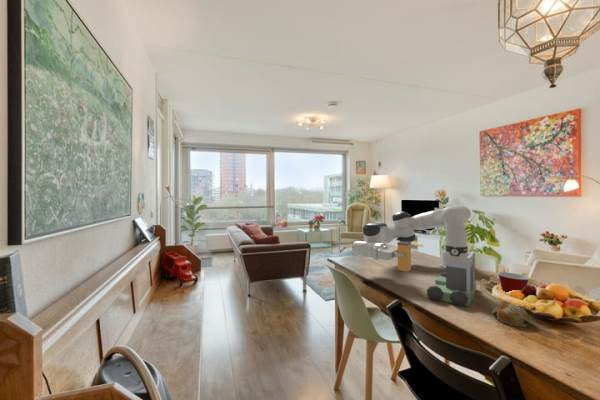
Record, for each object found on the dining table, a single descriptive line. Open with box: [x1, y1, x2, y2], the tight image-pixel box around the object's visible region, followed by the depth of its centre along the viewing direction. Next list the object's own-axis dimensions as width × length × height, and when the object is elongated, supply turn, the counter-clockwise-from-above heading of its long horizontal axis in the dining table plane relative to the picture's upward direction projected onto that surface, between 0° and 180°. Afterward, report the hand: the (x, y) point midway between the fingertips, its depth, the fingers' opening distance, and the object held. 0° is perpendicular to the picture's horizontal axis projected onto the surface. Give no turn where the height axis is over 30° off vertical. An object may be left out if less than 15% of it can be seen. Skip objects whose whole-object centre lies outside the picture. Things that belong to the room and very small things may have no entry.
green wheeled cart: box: [426, 250, 477, 307], centre depth 124 cm, size 28×16×19 cm, turn 141°
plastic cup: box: [497, 271, 531, 292], centre depth 113 cm, size 11×11×12 cm
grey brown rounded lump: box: [492, 302, 531, 328], centre depth 97 cm, size 10×10×8 cm
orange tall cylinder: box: [396, 241, 412, 272], centre depth 138 cm, size 5×5×14 cm
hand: (406, 254), depth 137 cm, fingers closed on orange tall cylinder, 5 cm apart
